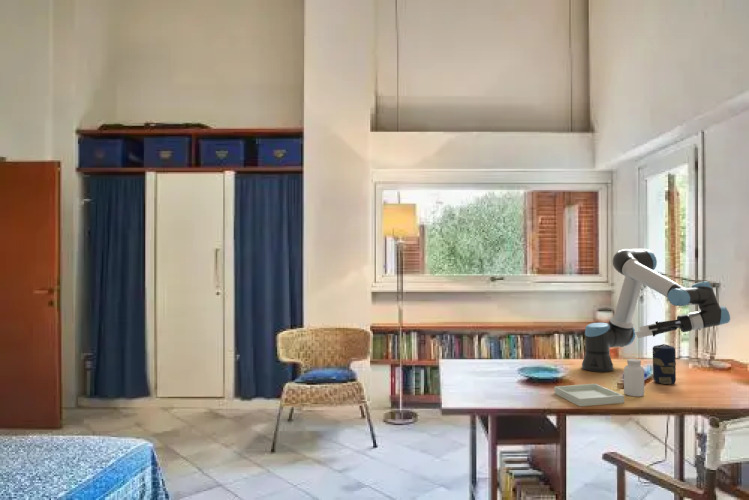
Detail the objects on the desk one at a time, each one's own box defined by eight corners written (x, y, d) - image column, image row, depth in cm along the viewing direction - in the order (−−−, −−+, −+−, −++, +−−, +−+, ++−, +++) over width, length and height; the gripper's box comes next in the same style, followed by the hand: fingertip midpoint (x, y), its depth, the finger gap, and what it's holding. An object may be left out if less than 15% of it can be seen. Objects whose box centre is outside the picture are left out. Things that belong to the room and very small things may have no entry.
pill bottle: (635, 397, 236) (634, 362, 236) (619, 393, 243) (619, 359, 243) (648, 395, 239) (648, 360, 239) (633, 391, 247) (632, 357, 246)
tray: (554, 393, 245) (554, 386, 245) (595, 390, 249) (595, 383, 249) (579, 406, 225) (579, 398, 225) (624, 402, 229) (624, 395, 229)
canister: (678, 385, 255) (678, 346, 254) (656, 385, 256) (655, 345, 256) (672, 380, 264) (671, 342, 264) (650, 379, 266) (650, 342, 266)
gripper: (698, 325, 233) (645, 336, 238) (686, 335, 255) (638, 344, 260) (692, 308, 236) (639, 319, 241) (681, 319, 258) (632, 329, 263)
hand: (638, 332), depth 251 cm, fingers open, 13 cm apart
